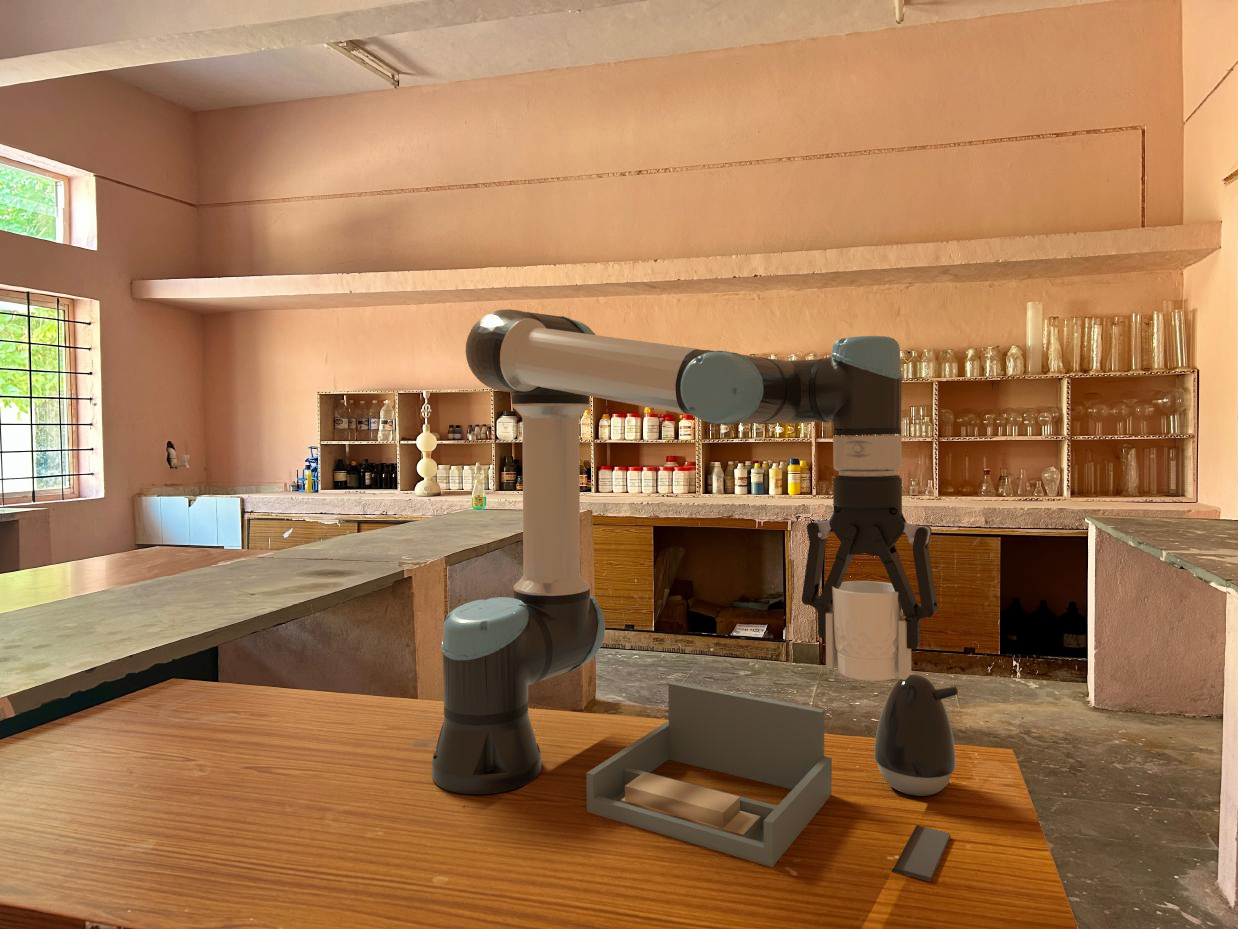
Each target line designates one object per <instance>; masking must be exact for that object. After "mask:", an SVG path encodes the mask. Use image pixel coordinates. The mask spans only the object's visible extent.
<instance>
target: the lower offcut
mask: <svg viewBox="0 0 1238 929" xmlns="http://www.w3.org/2000/svg"><path fill="white" fill-rule="evenodd" d="M621 802H622V803H625V804H629V805H632V806H636V807H639V808H643V809H647V810H650V811H654V812H657V813H661V814H664V815H668V816H671V817H675V818H678V819H682V820H685V821H689V822H692V823H696V824H699V825H703V826H706V827H710V828H713V829H717V830H720V831H724V832H727V833H731V834H734V835H738V836H741V837H745V838H748V839H752V840H753V839H754V838H755V837H756V836H757V835H758V834H759V833H760V832H761V816H758V815H754V814H750V813H747V812H743V811H740V812H739V813H738V814H737V815H736V816H735V817H734V818H733V819H732V820H731V821H730V822H729V823H728V824H727V825H726V826H725V827H724V828H721V827H717V826H714V825H710V824H707V823H703V822H699V821H696V820H692V819H689V818H685V817H682V816H678V815H675V814H671V813H668V812H664V811H661V810H657V809H653V808H650V807H646V806H643V805H639V804H636V803H632V802H629V801H625V797H624V798H623V799H621Z"/></svg>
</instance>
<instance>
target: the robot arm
mask: <svg viewBox="0 0 1238 929" xmlns="http://www.w3.org/2000/svg"><path fill="white" fill-rule="evenodd" d="M830 354H831V356H829V357H827V356H826V357H824V358H818V359H817V358H816V359H814V358H813V359H797V360H796V359H794V360H792V359H791V360H784V359H776V358H769V357H762V356H752V355H747V354H740V353H737V352H734V351H733V352H730V351H726V350H711V349H700V348H694V347H689V346H682V345H681V346H680V345H673V344H672V345H671V344H667V343H665V344H664V343H658V342H657V343H656V342H650V341H642V340H634V339H627V338H621V337H620V338H619V337H612V336H606V335H605V336H604V335H597V334H596V333H595V332H594V331H593V330H592V329H591V328H590V327H589V326H588V325H587V324H585V323H583V322H581V321H579V320H574V319H571V318H569V317H566V316H564V315H560V316H559V315H553V314H552V315H551V314H545V313H544V314H543V313H537V312H536V313H535V312H530V311H523V310H517V309H509V308H508V309H499V310H495V311H492V312H489V313H487V314H485V315H484V316H482V317H481V318H479V319H478V320H477V321H476V322H475V323H474V325H473V326H472V327H471V329H470V331H469V333H468V335H467V339H466V342H465V357H466V361H467V362H466V363H467V364H468V367H469V370H470V371H471V373H472V375H473V376H474V377H475V378H476V379H477V380H478V381H479V382H481V384H483V385H484V386H486V387H488V388H489V389H493V390H495V391H499V392H505V393H506V392H507V393H511V406H512V407H511V408H513V409H514V410H515V411H516V412H517V414H519V415H520V417H521V419H522V424H521V425H522V531H523V532H522V534H523V535H522V538H523V539H522V540H523V541H522V545H523V546H522V547H523V548H522V549H523V550H522V551H523V553H522V554H523V556H522V557H523V558H522V559H523V564H522V565H523V567H522V569H523V575H522V576H521V578H520V579H519V580H518V581H517V582H516V583H515V584H514V585H513V597H508V596H507V597H505V596H501V597H500V596H499V597H497V596H496V597H489V598H488V599H483V598H482V599H477V600H473V601H469V602H467V603H464V604H462V605H459V606H457V607H455V608H454V609H453V610H451V611H450V612H449V613H448V614H447V616H446V617H445V619H444V622H443V629H442V630H443V632H442V633H443V634H442V640H441V651H442V670H443V671H442V674H443V675H442V676H443V680H442V681H443V722H442V725H441V728H440V730H439V731H440V732H439V735H438V738H437V743H436V747H435V751H434V752H433V755H432V758H431V779H432V781H433V782H434V784H436V785H437V786H438V787H440V788H442V789H444V790H446V791H449V792H451V793H452V792H453V793H458V794H464V795H465V794H466V795H489V794H491V795H492V794H498V793H504V792H509V791H512V790H515V789H518V788H521V787H524V786H526V785H528V784H529V783H531V782H532V781H534V780H536V779H537V777H538V776H539V775H540V774H541V770H542V752H541V749H540V746H539V744H538V743H537V740H536V736H535V732H534V729H533V726H532V723H531V719H530V716H529V686H531V685H533V684H536V683H539V682H541V681H544V680H547V679H551V678H552V677H556V676H559V675H561V674H566V673H571V672H574V671H575V670H577V669H579V667H581V666H582V665H585V664H587V663H589V662H590V661H591V660H592V659H593V658H594V657H596V655H597V654H598V653H599V651H600V649H601V647H602V644H603V642H604V639H605V632H606V631H605V630H606V622H605V616H604V613H603V610H602V609H603V608H601V607H599V606H598V604H599V602H598V601H597V599H596V598H595V597H594V596H593V595H591V584H590V583H589V582H588V581H587V579H585V578H584V577H583V576H582V574H581V554H580V553H581V539H580V538H581V536H580V531H581V527H580V526H581V522H580V521H581V520H580V519H581V511H580V509H581V508H580V506H581V504H580V503H581V502H580V501H581V500H580V496H581V495H580V494H581V493H580V492H581V491H580V489H581V488H580V486H581V485H580V480H581V479H580V474H581V472H580V471H581V470H580V469H581V468H580V465H581V464H580V463H581V462H580V457H581V456H580V455H581V454H580V419H581V416H582V415H583V414H584V413H585V412H586V411H587V410H588V409H589V408H590V397H593V398H599V399H603V400H609V401H614V402H620V403H623V404H624V403H625V404H630V405H635V406H640V407H646V408H651V409H658V410H663V411H668V412H672V413H673V412H674V413H678V414H684V415H689V416H693V417H695V418H696V419H699V420H701V421H704V422H707V423H711V424H718V425H723V426H724V425H733V424H734V425H735V424H745V423H747V424H748V423H749V424H759V425H770V426H772V425H776V424H799V423H802V424H803V423H818V422H820V423H830V422H832V446H833V447H832V448H833V451H832V453H833V454H832V456H833V459H832V460H833V461H832V462H833V466H832V467H833V469H834V471H838V474H836V475H834V477H833V478H832V482H833V484H832V486H833V487H832V488H833V489H832V492H833V493H832V494H833V502H832V503H833V512H832V515H831V516H830V519H829V520H822V521H821V520H815V521H814V520H813V521H811V522H809V523H807V524H806V532H807V537H808V541H809V544H808V552H807V558H806V566H805V571H804V572H805V573H804V580H803V588H802V594H801V602H802V603H803V605H805V606H810V607H812V608H814V609H815V610H816V612H817V634H818V636H819V638H820V639H825V669H827V670H833V669H835V668H837V667H838V664H837V649H836V647H835V635H834V617H833V598H832V586H834V587H835V588H836V589H839V587H840V586H841V584H842V582H844V579H845V576H846V574H847V573H848V569H849V568H850V564H851V562H852V560H853V558H854V557H855V555H856V556H857V555H864V554H866V555H869V556H874V557H879V560H880V562H881V564H882V565H883V566H884V568H885V570H886V573H887V575H888V579H889V582H890V583H891V584H892V585H893V588H894V590H895V592H898V600H899V602H900V605H901V607H902V610H903V614H904V616H902V619H900V620H899V621H898V636H899V675H898V680H899V679H903V680H906V679H907V678H908V677H909V676H910V674H912V650H917V649H918V648H919V647H920V644H921V642H922V641H921V637H922V636H921V620H923V619H925V618H931V617H933V616H934V615H935V614H936V613H937V612H938V610H939V605H938V598H937V592H936V586H935V579H934V574H933V566H932V560H931V554H930V548H929V546H930V541H931V536H932V531H933V530H932V527H930V525H926V524H925V525H922V526H921V525H917V524H912V523H908V522H907V520H906V519H905V516H904V514H903V478H902V477H901V476H900V475H898V474H897V471H901V470H902V468H903V458H902V457H903V456H902V454H903V453H902V452H903V450H902V449H903V446H902V445H903V444H902V392H903V390H902V389H903V386H902V385H903V381H902V380H904V376H903V374H902V363H901V361H902V360H901V347H900V343H898V341H897V339H895V338H894V337H890V336H886V335H885V336H884V335H860V336H849V337H843V338H839V339H837V340H835V341H834V342H833V343H832V348H831V353H830ZM830 531H832V532H833V533H834V535H835V536H836V538H837V539H838V540H839V542H840V545H839V548H838V549H837V551H836V555H835V560H834V562H833V564H832V566H831V569H830V571H829V574H828V577H827V578H826V581H825V583H824V586H823V589H822V590H821V592H820V587H821V580H822V572H823V567H824V566H823V564H824V559H825V551H826V546H827V545H826V542H827V541H826V539H827V538H828V537H829V536H830ZM903 534H905V535H906V536H907V541H908V543H909V544H910V545H912V555H913V563H914V568H915V574H916V582H917V586H918V594H919V600H920V605H919V602H918V600H917V597H916V595H915V593H914V590H913V589H912V588H913V587H912V586H911V585H912V584H911V583H910V581H909V578H908V575H907V573H906V571H905V568H904V565H903V564H902V561H901V559H900V554H899V550H898V548H897V545H896V543H897V542H898V541H899V539H900V537H901V536H902V535H903Z"/></svg>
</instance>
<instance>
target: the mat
mask: <svg viewBox="0 0 1238 929" xmlns="http://www.w3.org/2000/svg"><path fill="white" fill-rule="evenodd" d="M950 839H951V833H950V832H946V831H942V830H938V829H935V828H930V827H925V826H922V825H917V824H916V825H915V827H914V829H913V831H912V833H911V834H910V837H909V838H908V840H907V842H906V844H905V846H904V847H903V850H902V851H901V854H900V855H899V857H898V859H897V861H896V862H895V864H894V866H893V868H892V870H891V872H893V873H896V874H900V875H902V876H903V875H904V876H907V877H911V878H915V879H918V880H922V881H926V882H929V883H931V882H932V881H933V878H934V876H935V873H936V871H937V868H938V866H939V865H940V862H941V859H942V858H943V854H944V852H945V850H946V848H947V846H948V844H949V841H950Z"/></svg>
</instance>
